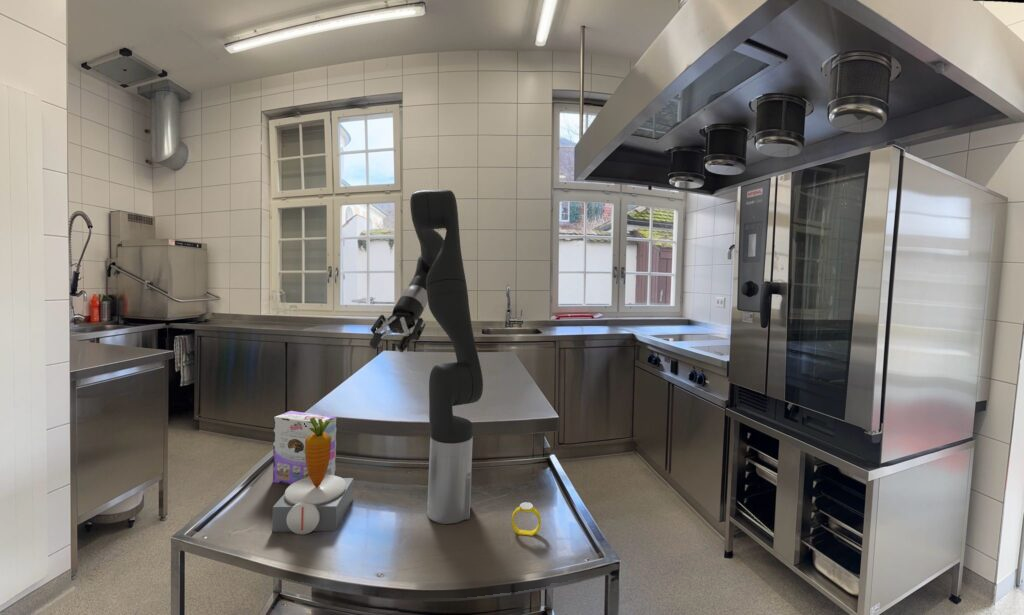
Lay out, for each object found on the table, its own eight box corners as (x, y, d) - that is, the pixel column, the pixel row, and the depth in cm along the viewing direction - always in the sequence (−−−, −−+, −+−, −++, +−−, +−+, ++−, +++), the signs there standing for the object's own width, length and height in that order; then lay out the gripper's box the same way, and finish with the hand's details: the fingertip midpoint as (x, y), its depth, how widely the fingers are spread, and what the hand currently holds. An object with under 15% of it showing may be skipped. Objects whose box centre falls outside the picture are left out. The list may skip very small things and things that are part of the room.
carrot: (335, 485, 87) (337, 416, 86) (315, 495, 82) (317, 422, 82) (318, 479, 89) (320, 412, 88) (298, 489, 85) (300, 418, 84)
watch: (511, 537, 82) (510, 508, 81) (512, 529, 84) (511, 501, 84) (540, 538, 81) (540, 509, 81) (541, 530, 84) (540, 502, 84)
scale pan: (352, 478, 92) (352, 474, 92) (335, 505, 80) (335, 501, 80) (298, 478, 91) (298, 474, 91) (274, 506, 79) (274, 502, 79)
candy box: (336, 480, 101) (338, 415, 100) (320, 491, 95) (321, 423, 94) (289, 472, 104) (291, 409, 103) (271, 482, 98) (272, 416, 98)
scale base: (352, 499, 92) (353, 473, 92) (333, 534, 79) (334, 504, 79) (297, 499, 91) (298, 473, 91) (269, 535, 78) (269, 505, 78)
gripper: (385, 293, 116) (357, 337, 106) (429, 296, 111) (403, 342, 101) (395, 311, 121) (369, 354, 111) (437, 314, 117) (414, 359, 106)
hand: (386, 348), depth 106 cm, fingers open, 8 cm apart
